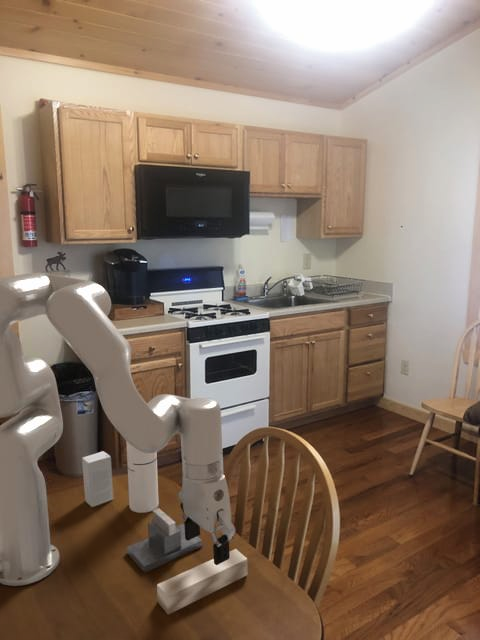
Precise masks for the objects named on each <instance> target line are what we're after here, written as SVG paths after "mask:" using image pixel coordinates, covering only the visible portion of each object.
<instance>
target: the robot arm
mask: <svg viewBox="0 0 480 640" xmlns="http://www.w3.org/2000/svg"><path fill="white" fill-rule="evenodd" d="M111 309H112V300H111V296H110V295H109V293H108V291H107V290H106V289H105V288H104V287H103V286H102V285H100V284H98V283H97V282H95V281H92V280H86V279H81V278H75V277H71V276H70V277H69V276H65V275H63V276H62V275H59V274H52V273H47V272H28V273H22V274H18V275H11V276H10V275H9V276H5V277H0V418H8V417H11V416H13V415H14V416H13V417H11V418H10V419H8V420H7V421H5V422H3V423H2V424H1V425H0V584H2V585H6V586H10V587H12V586H13V587H17V586H26V585H30V584H34V583H35V582H39V581H41V580H42V579H43V578H46V577H47V576H49V575H50V574H51V573H52V572H53V571H55V570H56V568H57V567H58V565H59V563H60V551H59V550H58V548H57V547H56V546H54V545H53V544H51V535H50V534H51V533H50V522H49V510H48V498H47V487H46V486H47V485H46V480H45V476H44V475H43V472H42V471H41V470H40V468H39V466H38V460H39V458H40V457H41V456H43V454H44V453H46V452H47V451H48V450H49V449H51V448H52V447H53V446H55V444H56V443H57V442H58V441H59V440H60V438H61V437H62V434H63V431H64V430H63V429H64V421H63V414H62V413H63V412H62V408H61V402H60V401H61V400H60V397H59V391H58V384H57V381H56V380H57V379H56V377H55V373H54V371H53V369H52V368H51V367H50V365H49V364H48V363H47V362H46V361H45V360H44V359H42V358H40V357H38V356H34V355H33V356H32V355H28V356H24V353H23V345H22V342H21V340H20V338H19V336H18V334H17V332H16V331H15V330H14V329H13V327H12V326H13V324H16V323H19V322H22V321H25V320H28V319H29V320H30V319H32V318H35V317H38V316H41V315H45V316H46V317H47V320H48V321H49V322H50V323H51V325H52V326H53V327H54V329H55V331H57V332H58V334H59V335H60V336H61V337H62V338H63V340H64V341H65V342H66V343H67V344H68V346H69V347H70V349H72V351H73V352H74V353H75V354H76V355H77V357H78V358H79V360H81V362H82V363H83V364H84V365H85V366H86V368H87V369H88V371H90V373H91V374H92V377H93V379H94V385H95V390H96V392H97V395H98V399H99V401H100V404H101V407H102V410H103V412H104V414H105V415H106V417H107V419H108V421H110V423H111V424H112V426H113V427H114V428H115V429H116V430H117V432H119V434H120V435H121V436H122V438H123V439H124V440H125V442H126V441H127V442H128V443H129V444H130V445H132V446H133V447H134V448H135V449H137V450H139V451H141V452H144V453H155V452H157V453H158V452H159V451H161V450H163V449H164V448H165V447H167V445H168V443H169V442H170V441H171V440H172V438H173V437H175V435H180V448H181V452H180V453H181V466H182V467H181V469H182V481H181V482H182V484H181V486H182V487H181V491H178V493H177V496H178V498H179V501H180V502H179V503H180V505H179V506H180V509H181V510H182V513H183V514H182V519H183V521H184V522H183V524H184V526H185V539H186V540H187V541H188V540H191V539H193V538H195V537H197V536H198V537H199V536H200V535H201V528H202V529H203V530H204V531H206V532H208V533H210V534H211V536H212V539H213V542H214V543H213V544H212V548H213V549H212V550H213V559H214V564H215V565H218V564H220V563H222V562H224V561H226V560H228V559H229V558H230V553H229V552H230V542H231V541H232V540H233V539H234V535H235V532H236V526H235V525H234V524H233V523H232V511H231V503H230V493H229V488H228V483H227V479H226V476H225V475H224V457H223V434H222V433H223V430H222V429H223V428H222V412H221V411H222V410H221V406H220V404H219V403H218V402H217V400H214V399H212V398H206V397H198V398H189V397H184V396H180V395H174V394H168V393H167V394H166V393H164V394H163V393H162V394H158V395H156V396H153V398H151V399H150V400H149V401H148V402H146V401H145V399H144V398H143V397H142V395H141V394H140V393H139V391H138V389H137V387H136V385H135V383H134V380H133V378H132V372H131V362H132V361H131V360H132V347H131V345H130V342H129V341H128V340H127V339H126V338H125V337H124V336H123V334H122V333H121V332H120V330H119V329H118V328H117V327H116V326H115V324H114V323H113V322H112V321H111V319H110V318H109V317H108V316H109V314H110V313H111V312H110V311H111ZM15 414H17V415H15ZM217 523H218V524H219V525H218V526H217ZM200 527H201V528H200ZM219 530H221V532H222V534H223V535H221V536H219V534H218V531H219Z"/></svg>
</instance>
